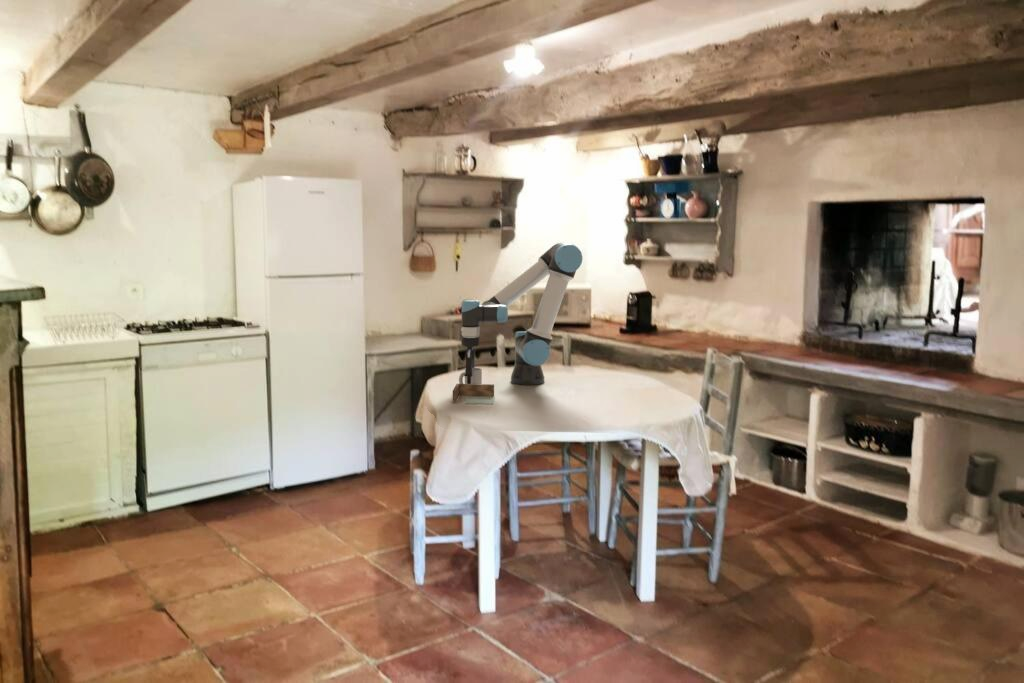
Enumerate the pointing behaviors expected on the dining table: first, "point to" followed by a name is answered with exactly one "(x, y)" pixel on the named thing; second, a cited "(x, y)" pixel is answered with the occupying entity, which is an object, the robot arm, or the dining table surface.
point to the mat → (480, 400)
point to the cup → (476, 376)
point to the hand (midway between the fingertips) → (470, 389)
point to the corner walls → (473, 390)
